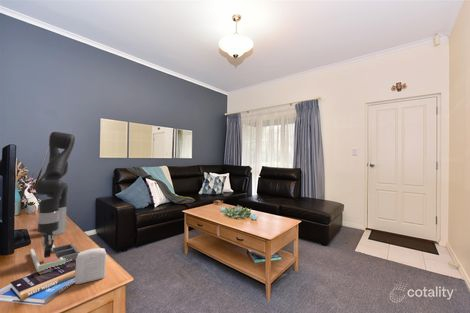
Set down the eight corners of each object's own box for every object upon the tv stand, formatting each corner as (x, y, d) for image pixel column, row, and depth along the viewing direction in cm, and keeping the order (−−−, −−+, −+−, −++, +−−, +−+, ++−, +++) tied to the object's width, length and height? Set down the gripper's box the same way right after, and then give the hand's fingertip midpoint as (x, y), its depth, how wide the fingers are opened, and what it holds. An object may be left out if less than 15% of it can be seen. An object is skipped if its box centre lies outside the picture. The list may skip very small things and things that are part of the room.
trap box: (30, 254, 107) (30, 246, 107) (69, 245, 119) (69, 238, 119) (38, 275, 87) (38, 266, 87) (83, 262, 99) (84, 253, 99)
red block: (42, 267, 94) (43, 258, 94) (55, 264, 97) (56, 255, 98) (44, 272, 90) (45, 263, 90) (58, 268, 94) (58, 259, 94)
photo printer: (105, 273, 90) (106, 245, 90) (105, 278, 86) (106, 248, 87) (75, 280, 84) (76, 250, 84) (74, 286, 80) (75, 254, 81)
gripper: (61, 222, 99) (59, 258, 99) (56, 216, 108) (54, 250, 107) (40, 225, 93) (38, 264, 93) (36, 219, 102) (34, 255, 102)
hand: (47, 256), depth 100 cm, fingers closed
